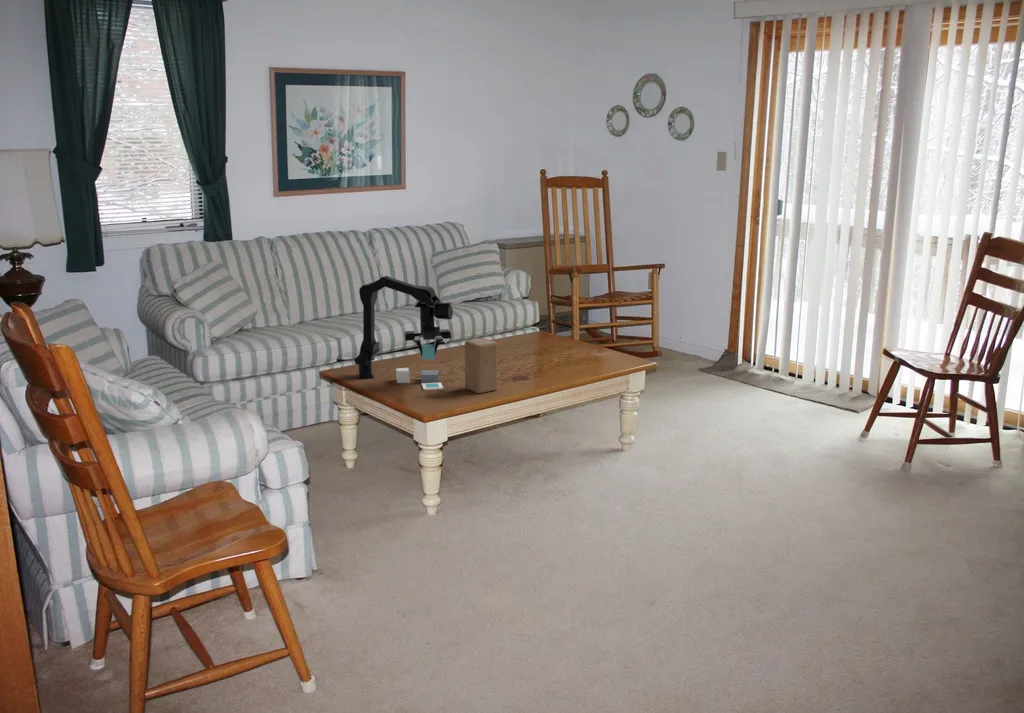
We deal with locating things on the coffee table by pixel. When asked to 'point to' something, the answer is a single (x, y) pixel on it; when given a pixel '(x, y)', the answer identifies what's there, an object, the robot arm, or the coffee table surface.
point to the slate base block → (429, 376)
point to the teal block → (428, 352)
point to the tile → (432, 386)
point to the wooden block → (481, 365)
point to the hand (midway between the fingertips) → (428, 355)
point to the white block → (402, 375)
